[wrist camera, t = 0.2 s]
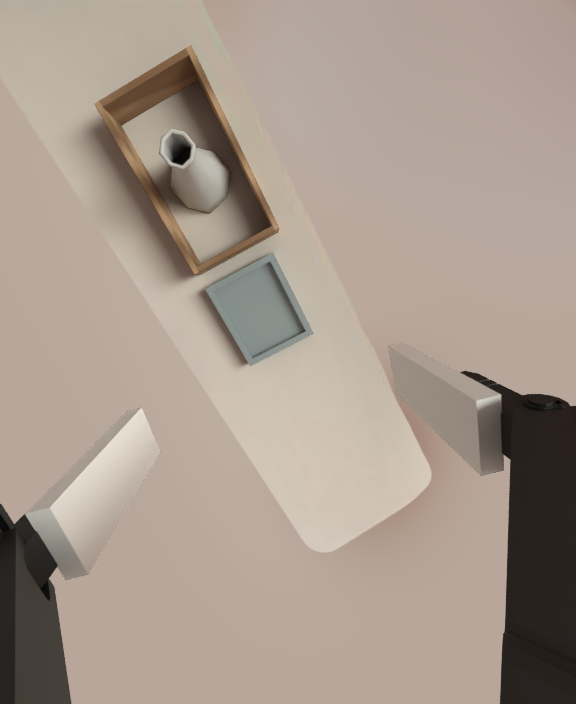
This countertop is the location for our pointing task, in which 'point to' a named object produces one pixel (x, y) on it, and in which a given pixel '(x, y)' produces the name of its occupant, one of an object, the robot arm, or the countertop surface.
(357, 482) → the countertop surface
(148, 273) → the countertop surface
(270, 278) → the tray
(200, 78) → the caddy
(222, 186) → the flask
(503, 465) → the robot arm
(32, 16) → the countertop surface
